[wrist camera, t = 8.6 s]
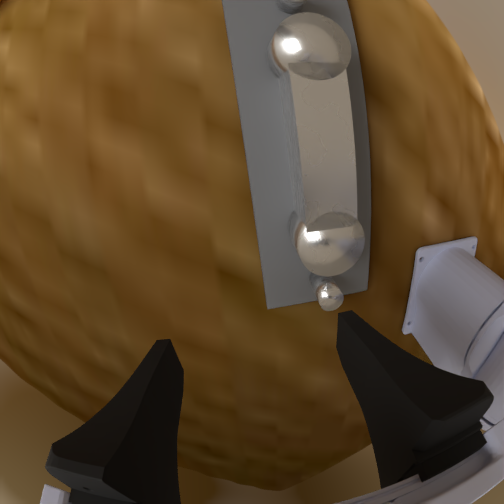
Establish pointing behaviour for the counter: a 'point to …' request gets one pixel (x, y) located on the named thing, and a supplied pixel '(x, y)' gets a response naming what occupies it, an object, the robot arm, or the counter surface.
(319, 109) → the ball knob lever
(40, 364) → the counter surface
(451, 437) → the robot arm
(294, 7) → the grey metal plate
